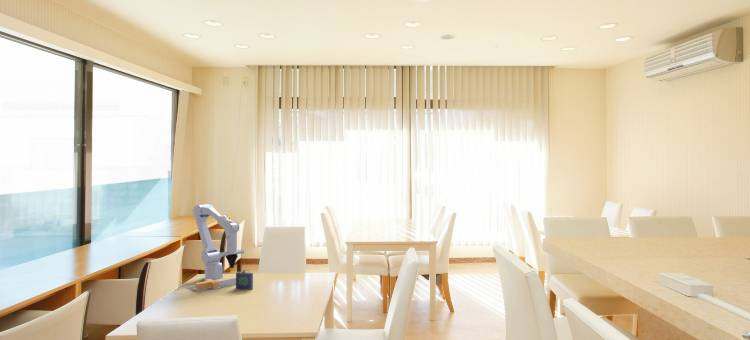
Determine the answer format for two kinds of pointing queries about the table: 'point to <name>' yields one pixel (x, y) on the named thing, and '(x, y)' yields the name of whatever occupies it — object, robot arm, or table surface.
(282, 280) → the table surface
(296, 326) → the table surface
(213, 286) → the t block
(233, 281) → the mat
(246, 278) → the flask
